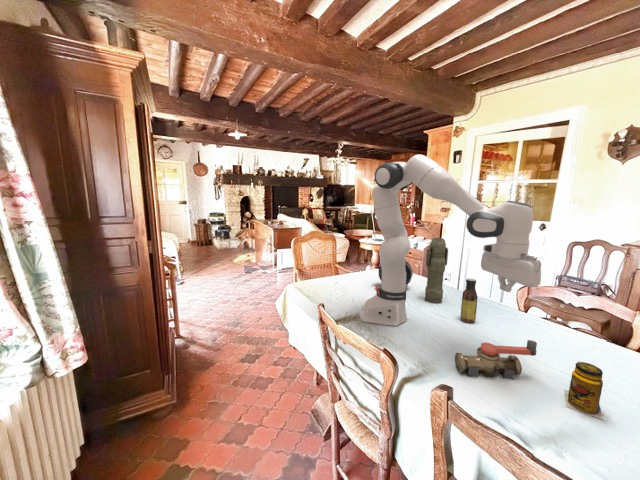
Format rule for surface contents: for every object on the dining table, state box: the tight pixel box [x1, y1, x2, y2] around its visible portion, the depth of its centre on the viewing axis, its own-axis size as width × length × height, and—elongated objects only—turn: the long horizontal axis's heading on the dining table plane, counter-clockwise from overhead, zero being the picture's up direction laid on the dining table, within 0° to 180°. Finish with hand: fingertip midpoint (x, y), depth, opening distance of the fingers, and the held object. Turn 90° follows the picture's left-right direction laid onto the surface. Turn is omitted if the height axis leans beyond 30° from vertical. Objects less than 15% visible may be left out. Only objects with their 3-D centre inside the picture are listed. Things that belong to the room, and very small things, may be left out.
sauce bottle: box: [460, 278, 479, 324], centre depth 123 cm, size 6×6×20 cm
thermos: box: [424, 237, 449, 305], centre depth 145 cm, size 9×12×35 cm
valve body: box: [454, 346, 523, 380], centre depth 88 cm, size 18×6×7 cm, turn 85°
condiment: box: [564, 361, 604, 420], centre depth 74 cm, size 7×8×12 cm
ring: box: [378, 259, 414, 286], centre depth 166 cm, size 11×20×20 cm, turn 89°
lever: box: [480, 339, 538, 357], centre depth 87 cm, size 4×16×4 cm, turn 85°
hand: (505, 290), depth 91 cm, fingers closed
